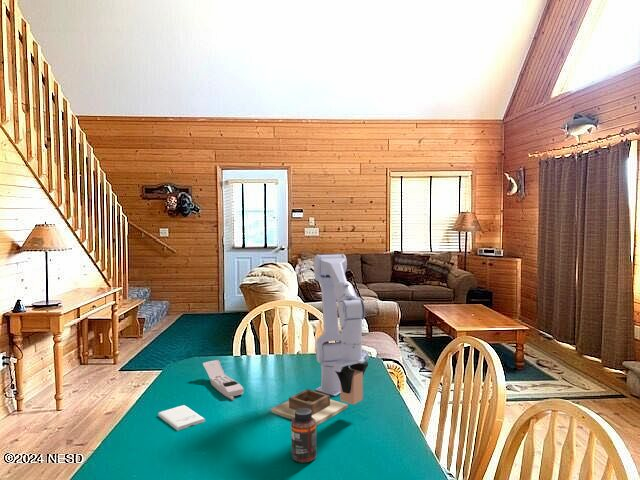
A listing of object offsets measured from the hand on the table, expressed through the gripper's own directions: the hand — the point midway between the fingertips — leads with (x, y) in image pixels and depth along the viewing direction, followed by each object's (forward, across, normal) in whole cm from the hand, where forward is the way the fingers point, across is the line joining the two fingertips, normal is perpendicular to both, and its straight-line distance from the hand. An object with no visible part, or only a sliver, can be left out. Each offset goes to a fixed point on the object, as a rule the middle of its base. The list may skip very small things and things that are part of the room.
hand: (351, 389), depth 136 cm
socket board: (+8, -4, +12) cm, 15 cm away
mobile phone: (+8, -7, +47) cm, 48 cm away
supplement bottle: (+8, -25, -4) cm, 27 cm away
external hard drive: (+9, -30, +38) cm, 49 cm away
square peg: (+3, 0, 0) cm, 3 cm away
